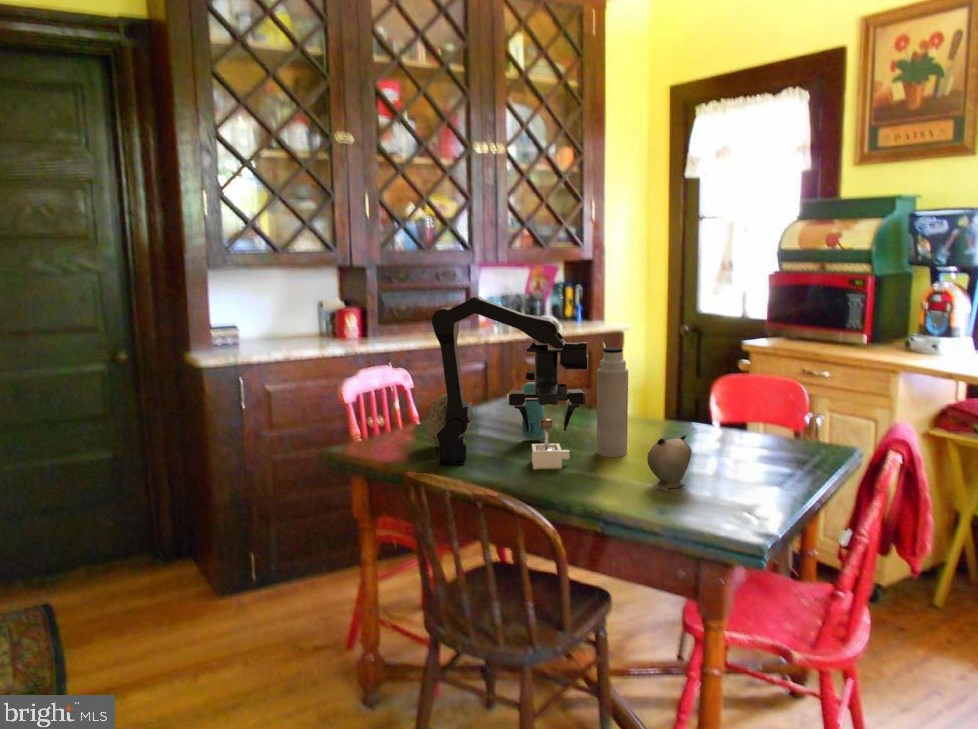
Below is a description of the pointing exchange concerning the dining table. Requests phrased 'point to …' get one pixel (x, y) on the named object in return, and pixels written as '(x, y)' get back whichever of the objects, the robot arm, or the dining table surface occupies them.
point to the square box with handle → (548, 457)
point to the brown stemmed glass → (546, 433)
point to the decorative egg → (437, 418)
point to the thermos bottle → (612, 404)
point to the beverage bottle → (533, 411)
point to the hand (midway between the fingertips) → (546, 430)
